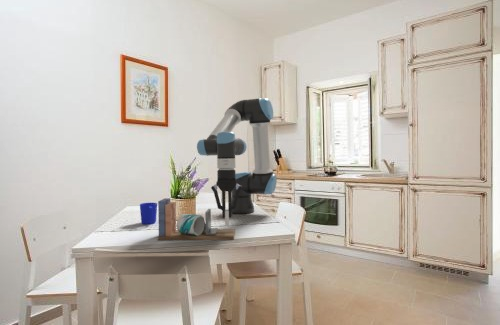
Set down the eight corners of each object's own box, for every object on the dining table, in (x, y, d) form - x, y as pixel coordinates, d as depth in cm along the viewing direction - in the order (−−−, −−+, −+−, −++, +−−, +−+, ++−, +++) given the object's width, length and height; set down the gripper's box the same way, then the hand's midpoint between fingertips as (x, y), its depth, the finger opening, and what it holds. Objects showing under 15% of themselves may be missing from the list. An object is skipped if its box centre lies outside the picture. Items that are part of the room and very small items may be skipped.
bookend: (208, 229, 125) (208, 208, 125) (217, 229, 125) (217, 208, 125) (205, 235, 116) (205, 212, 116) (215, 234, 116) (215, 212, 116)
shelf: (166, 232, 126) (165, 197, 126) (234, 231, 126) (234, 197, 126) (157, 240, 114) (157, 201, 114) (233, 239, 114) (233, 201, 114)
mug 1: (142, 227, 136) (141, 206, 136) (139, 223, 146) (138, 203, 146) (160, 225, 139) (159, 205, 139) (155, 221, 150) (155, 202, 150)
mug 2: (179, 212, 118) (195, 213, 114) (196, 216, 128) (212, 218, 124) (174, 232, 116) (191, 235, 112) (193, 235, 126) (208, 237, 122)
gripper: (209, 169, 117) (210, 228, 117) (241, 169, 117) (242, 227, 117) (211, 169, 124) (212, 223, 125) (242, 168, 124) (242, 223, 125)
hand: (227, 225), depth 121 cm, fingers closed
